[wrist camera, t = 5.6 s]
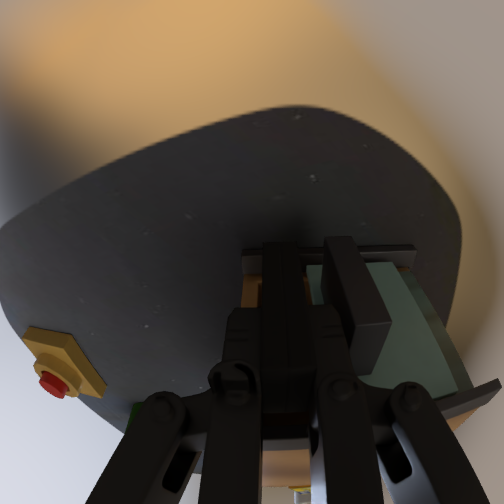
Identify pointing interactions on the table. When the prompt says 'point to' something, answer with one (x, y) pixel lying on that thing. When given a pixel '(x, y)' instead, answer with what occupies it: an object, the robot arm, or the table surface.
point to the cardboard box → (295, 424)
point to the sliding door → (379, 320)
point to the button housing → (64, 361)
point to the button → (53, 385)
